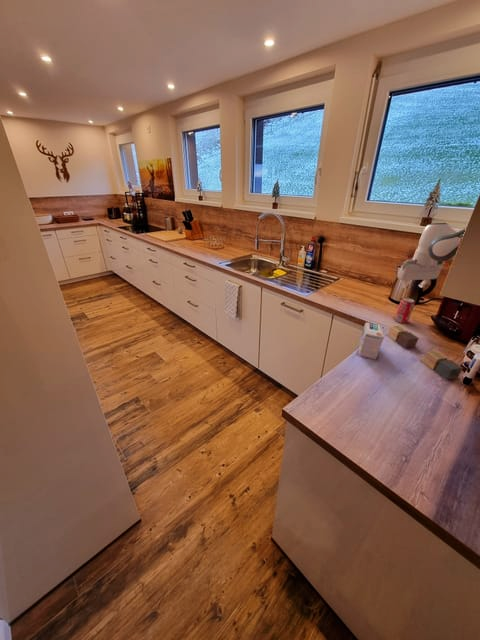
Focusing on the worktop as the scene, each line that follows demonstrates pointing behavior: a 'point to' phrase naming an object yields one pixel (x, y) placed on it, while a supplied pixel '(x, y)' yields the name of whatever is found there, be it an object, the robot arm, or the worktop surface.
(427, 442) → the worktop surface
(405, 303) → the beverage can
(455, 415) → the worktop surface
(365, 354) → the light bulb box
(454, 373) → the block row
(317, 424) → the worktop surface
